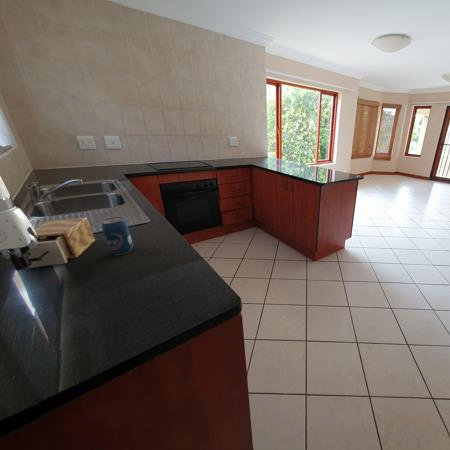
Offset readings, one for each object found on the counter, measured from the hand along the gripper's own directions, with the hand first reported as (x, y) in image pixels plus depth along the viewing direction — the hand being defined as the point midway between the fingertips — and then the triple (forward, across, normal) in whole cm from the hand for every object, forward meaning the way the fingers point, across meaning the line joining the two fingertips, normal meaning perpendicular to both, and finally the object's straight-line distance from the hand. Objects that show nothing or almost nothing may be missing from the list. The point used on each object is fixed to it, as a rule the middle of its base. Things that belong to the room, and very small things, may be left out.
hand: (24, 267), depth 67 cm
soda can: (+5, +19, +13) cm, 23 cm away
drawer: (+4, 0, +10) cm, 11 cm away
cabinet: (+5, 0, +18) cm, 19 cm away
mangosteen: (+3, 0, +12) cm, 12 cm away
